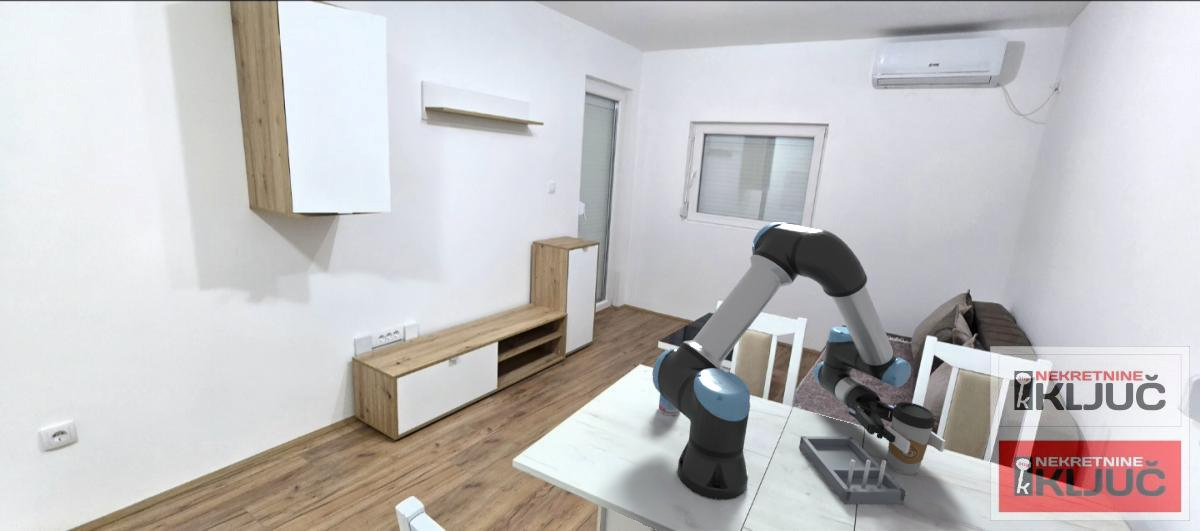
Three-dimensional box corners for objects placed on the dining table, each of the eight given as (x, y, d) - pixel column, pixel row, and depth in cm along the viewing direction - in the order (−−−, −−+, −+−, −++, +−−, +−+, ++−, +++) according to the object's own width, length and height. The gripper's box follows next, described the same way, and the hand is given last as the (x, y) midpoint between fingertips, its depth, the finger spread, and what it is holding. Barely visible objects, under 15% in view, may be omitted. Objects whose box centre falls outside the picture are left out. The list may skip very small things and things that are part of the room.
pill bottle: (656, 405, 135) (659, 368, 132) (677, 404, 136) (680, 368, 133) (661, 416, 129) (664, 378, 126) (683, 416, 130) (687, 378, 127)
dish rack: (799, 446, 118) (803, 419, 117) (849, 447, 119) (854, 420, 118) (844, 504, 99) (850, 472, 97) (903, 504, 100) (910, 473, 98)
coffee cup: (882, 470, 111) (895, 412, 108) (881, 452, 118) (892, 397, 115) (925, 483, 107) (939, 423, 104) (920, 463, 114) (933, 407, 111)
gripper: (889, 408, 131) (962, 459, 109) (819, 410, 127) (880, 464, 105) (894, 383, 129) (970, 430, 107) (824, 384, 126) (886, 434, 104)
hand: (925, 447), depth 106 cm, fingers closed on coffee cup, 8 cm apart
